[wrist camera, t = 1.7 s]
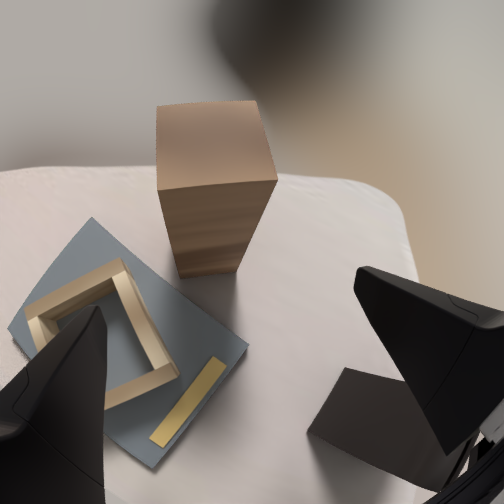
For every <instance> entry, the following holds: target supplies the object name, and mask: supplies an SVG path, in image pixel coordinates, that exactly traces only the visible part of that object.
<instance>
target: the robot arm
mask: <svg viewBox="0 0 504 504" xmlns="http://www.w3.org/2000/svg"><path fill="white" fill-rule="evenodd" d="M354 292H355V295H356V297H357V299H358V300H359V302H360V304H361V306H362V308H363V310H364V312H365V314H366V316H367V318H368V320H369V322H370V324H371V326H372V327H373V329H374V331H375V332H376V334H377V335H378V337H379V339H380V340H381V342H382V343H383V345H384V347H385V348H386V350H387V352H388V353H389V355H390V356H391V358H392V360H393V361H394V363H395V365H396V366H397V368H398V370H399V371H400V373H401V375H402V377H403V378H404V380H405V382H406V383H407V385H408V387H409V389H410V390H411V392H412V394H413V396H414V397H415V399H416V401H417V403H418V404H419V406H420V408H421V410H422V411H423V414H424V416H425V417H426V419H427V421H428V423H429V425H430V427H431V429H432V431H433V432H434V434H435V436H436V438H437V440H438V442H439V444H440V446H441V448H442V450H443V452H444V454H445V455H446V456H449V455H450V454H451V453H453V452H454V451H455V450H457V449H458V448H459V447H460V446H462V445H463V444H464V443H465V442H467V441H468V440H469V439H470V438H471V437H473V436H474V435H475V434H476V433H477V432H478V431H479V430H480V431H481V433H482V434H483V435H484V438H483V439H482V440H481V441H480V442H479V443H478V444H477V445H476V446H474V447H473V448H472V449H471V450H470V455H469V463H468V469H467V471H466V472H465V473H463V474H462V475H461V476H460V477H458V478H457V479H456V480H455V481H453V482H452V483H451V484H450V485H448V486H447V487H446V488H444V489H443V490H442V491H440V492H439V493H437V494H436V495H435V496H433V497H432V498H430V499H429V500H428V501H426V502H425V503H423V504H504V311H500V310H497V309H493V308H490V307H486V306H483V305H480V304H477V303H474V302H471V301H467V300H464V299H461V298H459V297H456V296H453V295H450V294H446V293H445V292H442V291H439V290H436V289H433V288H431V287H428V286H424V285H422V284H419V283H416V282H414V281H411V280H408V279H405V278H402V277H399V276H396V275H394V274H391V273H388V272H385V271H382V270H379V269H376V268H373V267H370V266H364V267H359V268H358V269H357V272H356V277H355V282H354ZM107 335H108V330H107V325H106V322H105V319H104V316H103V314H102V311H101V308H100V307H99V306H98V305H90V306H86V307H85V308H84V309H83V310H82V311H81V312H80V313H79V314H78V315H77V316H76V317H75V318H73V319H72V320H71V321H70V322H69V323H68V324H67V325H66V326H65V327H64V328H63V329H62V330H61V331H60V332H59V333H58V334H57V335H56V336H55V337H54V338H53V339H51V340H50V341H49V342H48V343H47V344H46V345H45V346H44V347H43V348H42V349H41V350H40V351H39V352H38V353H37V354H36V355H35V356H34V357H33V358H32V360H31V361H30V362H29V363H28V364H27V365H26V367H24V368H23V369H22V370H21V371H20V372H19V373H18V374H17V375H16V376H15V377H14V378H13V379H12V380H11V381H10V382H9V383H8V384H7V385H6V386H5V387H4V388H3V389H2V390H1V391H0V504H106V503H105V489H104V470H103V430H104V407H105V392H106V380H107Z"/></svg>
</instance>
